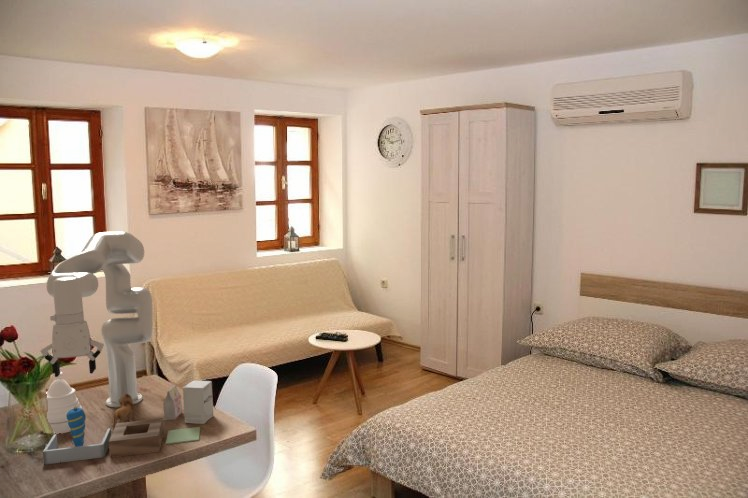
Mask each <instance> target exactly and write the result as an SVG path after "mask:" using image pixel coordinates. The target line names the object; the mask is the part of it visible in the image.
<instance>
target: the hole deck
mask: <svg viewBox="0 0 748 498" xmlns="http://www.w3.org/2000/svg"><path fill="white" fill-rule="evenodd" d="M164 433H165V432H164V421H163V417H162V418H161V417H160V418H153V419H144V420H143V419H142V420H133V421H125V422H124V423H122V422H117V424H116V425H115V428H114V431H113V430H112V432H111V437H110V440H109V448H108V450H109V458H115V457H125V456H134V455H142V454H149V453H150V454H151V453H157V452H158V453H159V452H160V449H161V446H162V442H163V437H164Z"/></svg>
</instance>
